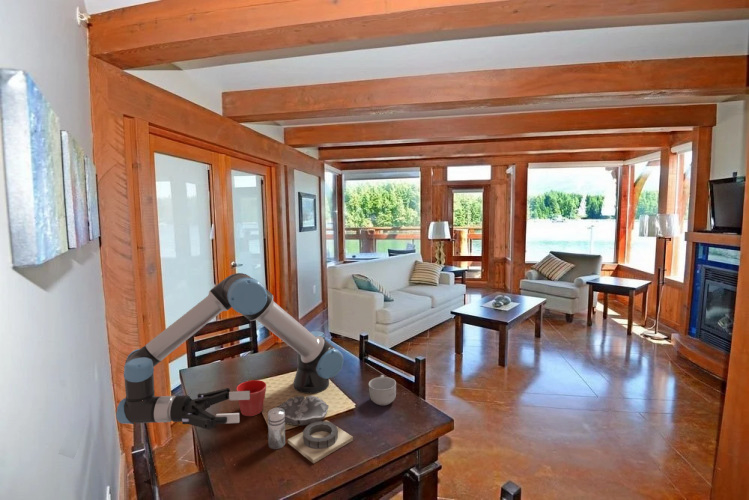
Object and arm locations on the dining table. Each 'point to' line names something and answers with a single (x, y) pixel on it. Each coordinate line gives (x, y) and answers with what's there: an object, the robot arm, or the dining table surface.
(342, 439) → the ring board
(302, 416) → the brain slice
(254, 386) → the flower pot
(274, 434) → the piston
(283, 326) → the robot arm
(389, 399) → the teacup
